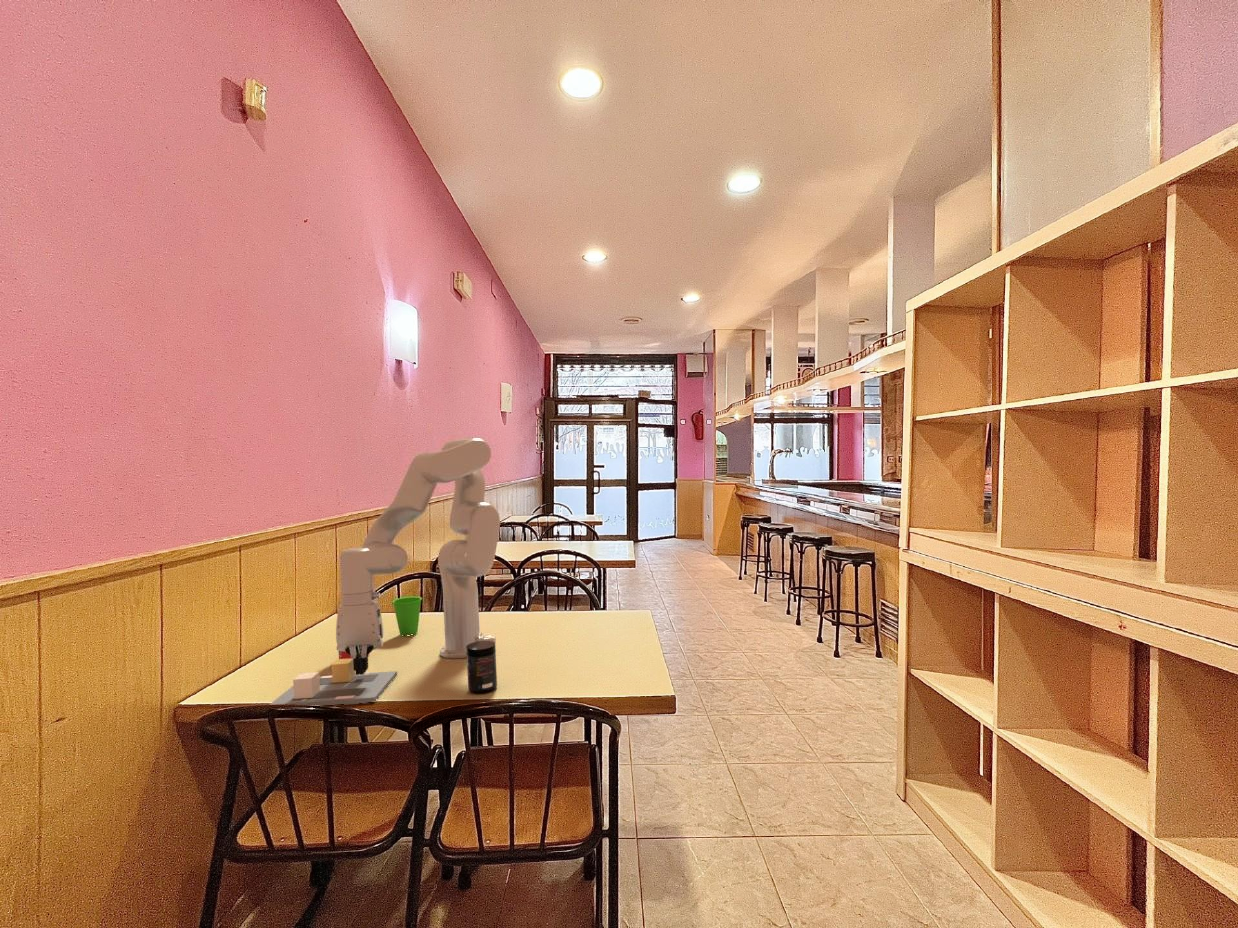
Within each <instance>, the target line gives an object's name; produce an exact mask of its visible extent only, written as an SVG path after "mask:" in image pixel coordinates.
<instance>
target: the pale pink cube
mask: <svg viewBox="0 0 1238 928" xmlns="http://www.w3.org/2000/svg"><path fill="white" fill-rule="evenodd" d="M319 676H320V671H318V672H304V673H299V674H298V675H297V676H296V677H294V678H293V680H292V681H293V682H292V683H293V685H294V699H300V698H313V697H314V696H315V695H316V694H317V693H318V692H319V691H320V684H319ZM293 685H292V686H293Z"/></svg>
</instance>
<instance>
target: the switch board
mask: <svg viewBox="0 0 1238 928" xmlns="http://www.w3.org/2000/svg"><path fill="white" fill-rule="evenodd" d="M396 676H397V677H398V670H395V671H380V672H365V673H364V674H363V675H360V674H359V675H356V673H355V677H353V678H352V679H351V680H350V681H349V682H337V683H332V675H319V684H320V691H319V692H318V693H317V694H316V695H315V696H314V697H313V698H300V699H294V685H292V686H291V687H290V688H288V689H287V690H286V691H284V692H283V693H282V694H281V695H280V696H278V697H277V698H276V699H274V700H273V701H272V702H271V703H269V705H285V704H288V705H289V704H296V705H334V706H336V705H335V704H344V705H343V706H345V705H346V706H347V705H359V703H362V704H368V703H367V702H372V701H376V699H378V698H380V697H381V696H382V695H383V694H382V692H383V693H385V691H386V690H387V689H388V688H389V686H390V685H391V684H392V683H391V681H393V682H394V680H395V679H396V678H397V677H396ZM395 677H396V678H395ZM394 678H395V679H394ZM393 679H394V680H393ZM390 683H391V684H390ZM389 684H390V685H389ZM388 685H389V686H388ZM387 687H388V688H387ZM386 688H387V689H386ZM385 689H386V690H385ZM384 690H385V691H384ZM381 694H382V695H381ZM380 695H381V696H380ZM379 696H380V697H379ZM378 700H379V699H378ZM376 702H377V701H376Z"/></svg>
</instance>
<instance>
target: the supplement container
mask: <svg viewBox="0 0 1238 928" xmlns="http://www.w3.org/2000/svg"><path fill="white" fill-rule="evenodd" d="M496 646H497V645H496V643H495V642H492V641H478V642H473V643H470V644H468V645H467V646H466V654H467V657H466V665H467V666H466V667H467V668H466V669H467V671H466V672H467V689H468V691H469V692H470V693H471V694H474V695H483V694H489V693H492V692H493V691H495V690H496V688H497V686H498V677H497V676H498V675H497V649H496V648H497V647H496Z"/></svg>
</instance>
